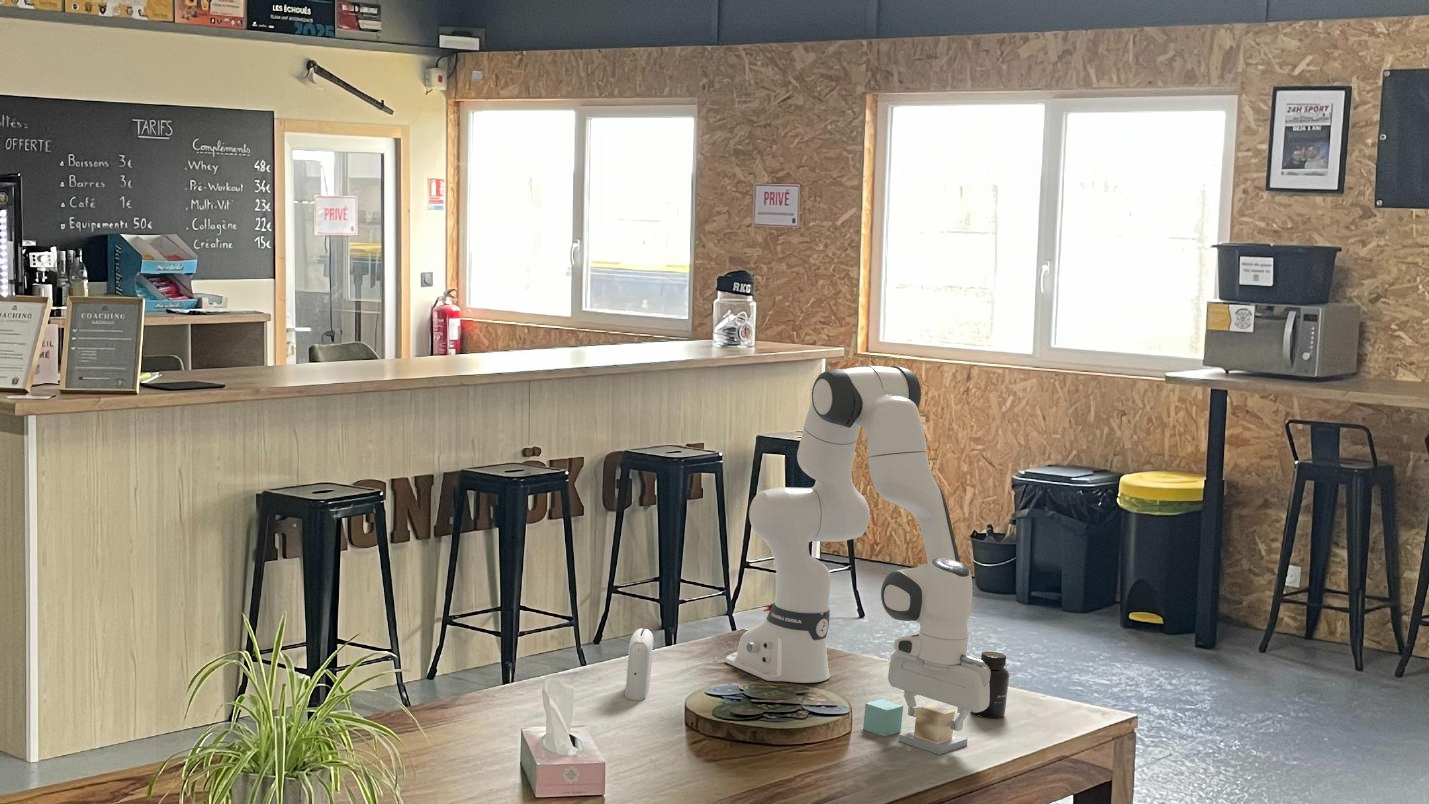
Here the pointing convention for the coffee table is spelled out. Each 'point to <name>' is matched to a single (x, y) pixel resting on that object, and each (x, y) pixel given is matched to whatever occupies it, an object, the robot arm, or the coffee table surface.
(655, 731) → the coffee table surface
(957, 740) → the plate
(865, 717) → the teal cube
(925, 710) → the maple cube
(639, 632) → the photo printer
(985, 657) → the supplement bottle
